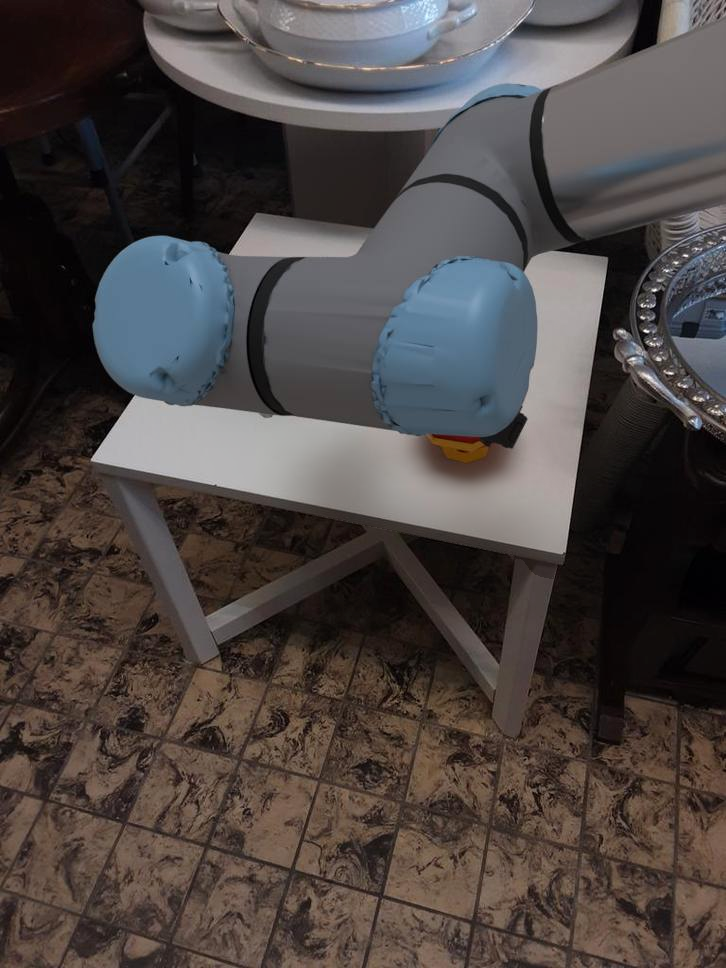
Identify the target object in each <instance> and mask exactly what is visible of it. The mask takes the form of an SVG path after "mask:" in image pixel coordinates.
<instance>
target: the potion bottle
mask: <svg viewBox="0 0 726 968" xmlns="http://www.w3.org/2000/svg"><path fill="white" fill-rule="evenodd" d="M427 437H428V438H429V440H430V443H431V444H432V445H435V446H439V447H440V448H441V450H442V452H443V453H444V455H445V457H446V458H447V459H451V460H454V461H457V462H460V463H464V464H469V463H472V462H474V461H475V462H476V461H478V460H481V459H484V458H486V456H487V454H488V452H489V449H490V447H487V446H486V445H484V444H483V443H481V442H480V441H479V440H480V438H478V437H471V436H455V435H439V434H427ZM494 444H495V445H496V443H493V442H492V444H491V446H492V445H494Z"/></svg>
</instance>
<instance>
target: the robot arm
mask: <svg viewBox="0 0 726 968" xmlns="http://www.w3.org/2000/svg"><path fill="white" fill-rule="evenodd" d="M431 142H432V143H431V144H430V147H429V149H428V151H427V152H426V154H425V156H424V157H423V158H422V160H421V161H420V162H419V164H418V165H417V167H416V169H414V171H413V172H412V174H411V176H410V177H409V178H408V179H407V181H406V182H405V184H404V186H402V189H401V190H400V191H399V193H398V194H397V195H396V197H395V198H394V200H393V201H392V203H391V204H390V206H388V208H387V210H386V211H385V212H384V214H383V215H382V216H381V218H380V220H379V221H378V223H377V224H376V225H375V226H374V228H373V229H372V231H371V232H370V234H369V235H368V236H367V238H366V239H365V240H364V242H363V243H362V245H361V246H360V247H359V250H358V251H357V252H356V253H355V254H353V255H351V256H263V255H261V256H259V255H258V256H257V255H236V254H228V253H223V252H220V251H217V249H216V248H214V247H211V246H210V245H209V244H208V243H206V242H204V241H188V240H185V239H180V238H177V237H172V236H169V235H152V236H147V237H144V238H140V239H139V240H136V241H134V242H132V243H131V244H129V245H127V247H125V248H124V249H122V250H121V251H120V252H119V253H118V254H117V255H116V256H115V257H114V258H113V260H112V261H111V262H110V264H109V265H108V266H107V268H106V270H105V271H104V272H103V275H102V277H101V279H100V281H99V284H98V287H97V289H96V294H95V298H94V303H95V309H94V313H93V315H94V320H93V322H92V333H93V340H94V345H95V349H96V352H97V354H98V357H99V361H100V362H101V364H102V366H103V368H104V369H105V371H106V372H107V374H108V375H109V377H110V378H111V379H112V380H113V381H114V382H115V383H116V384H117V385H118V386H119V387H121V389H123V390H125V391H126V392H127V393H129V394H131V395H134V396H136V397H138V398H143V399H148V400H153V401H160V402H164V403H165V404H167V405H168V406H179V407H192V406H199V407H207V408H208V407H209V408H217V409H225V410H234V411H241V412H249V413H256V414H257V413H258V415H260V416H261V417H263V418H264V419H271V418H273V416H281V417H297V418H304V419H311V420H318V421H325V422H331V423H339V424H346V425H353V426H359V427H366V428H373V429H381V430H387V431H393V432H394V431H395V432H397V433H399V434H400V435H407V436H415V437H422V436H428V434H430V435H432V434H439V435H455V436H471V437H478V438H480V440H479V441H480V442H481V443H483V444H484V445H486V446H487V447H489V448H490V447H491V446H492V445H493V444H492V442H493V443H495V445H500V446H501V447H503V448H505V449H514V447H515V446H516V443H517V442H518V440H519V438H520V436H521V433H522V431H523V429H524V427H525V425H526V424H527V421H528V420H529V418H528V417H527V416H526V415H525V414H524V413H522V412H521V411H522V409H523V407H524V405H523V404H524V402H525V400H526V397H527V394H528V392H529V387H530V376H531V371H532V369H533V368H534V367H535V360H536V354H537V345H538V344H537V343H538V313H537V302H536V296H535V293H534V288H533V286H532V284H531V282H530V280H529V277H528V276H527V275H526V274H525V271H526V269H527V267H528V265H529V263H531V260H532V259H533V258H534V257H536V256H538V255H541V254H545V253H549V252H552V251H557V250H560V249H563V248H568V247H570V246H573V245H576V244H580V243H583V242H587V241H591V240H594V239H599V238H601V237H605V236H609V235H613V234H617V233H621V232H624V231H628V230H631V229H636V228H639V227H644V226H647V225H652V224H656V223H658V222H662V221H667V220H671V219H675V218H678V217H681V216H685V215H690V214H693V213H697V212H701V211H705V210H709V209H713V208H717V207H720V206H723V205H726V15H724V16H722V17H720V18H719V17H718V18H717V19H714V20H712V21H710V22H707V23H705V24H703V25H700V26H697V27H695V28H693V29H690V30H688V31H685V32H683V33H681V34H679V35H676V36H674V37H671V38H669V39H666V40H664V41H661V42H659V43H656V44H654V45H652V46H649V47H648V48H645V49H642V50H640V51H637V52H635V53H633V54H630V55H628V56H626V57H623V58H621V59H617V60H615V61H613V62H611V63H608V64H606V65H604V66H602V67H599V68H597V69H594V70H592V71H589V72H587V73H585V74H582V75H580V76H578V77H575V78H572V79H570V80H568V81H565V82H563V83H559V84H555V85H553V86H551V87H548V88H545V89H541V88H540V87H537V86H533V85H527V84H521V83H510V82H507V83H499V84H495V85H492V86H489V87H486V88H485V89H482V90H481V91H479V92H478V93H476V94H474V95H473V96H471V98H470V99H469V100H467V102H465V104H464V105H463V106H461V108H460V109H459V110H458V111H456V112H455V113H454V114H452V115H450V117H449V119H448V120H447V122H446V123H445V124H444V126H442V127H440V128H439V130H438V132H437V133H436V135H435V137H434V139H433V141H431ZM491 444H492V445H491Z"/></svg>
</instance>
